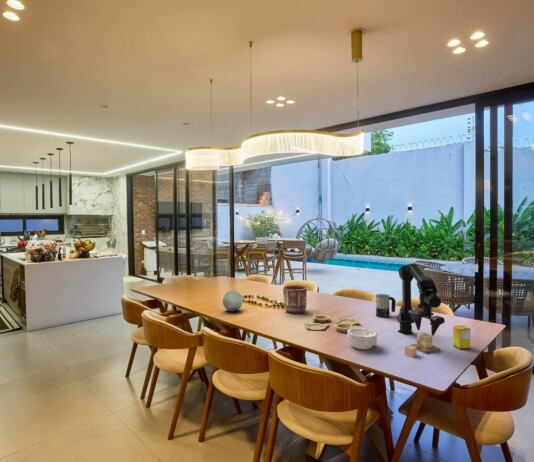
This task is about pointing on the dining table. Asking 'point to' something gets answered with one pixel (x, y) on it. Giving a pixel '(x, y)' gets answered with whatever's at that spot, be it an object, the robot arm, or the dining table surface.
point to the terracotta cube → (410, 351)
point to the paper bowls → (361, 338)
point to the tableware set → (342, 326)
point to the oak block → (424, 340)
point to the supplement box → (461, 337)
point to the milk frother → (384, 305)
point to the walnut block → (427, 349)
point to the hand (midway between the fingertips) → (425, 332)
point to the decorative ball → (232, 301)
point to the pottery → (295, 298)
